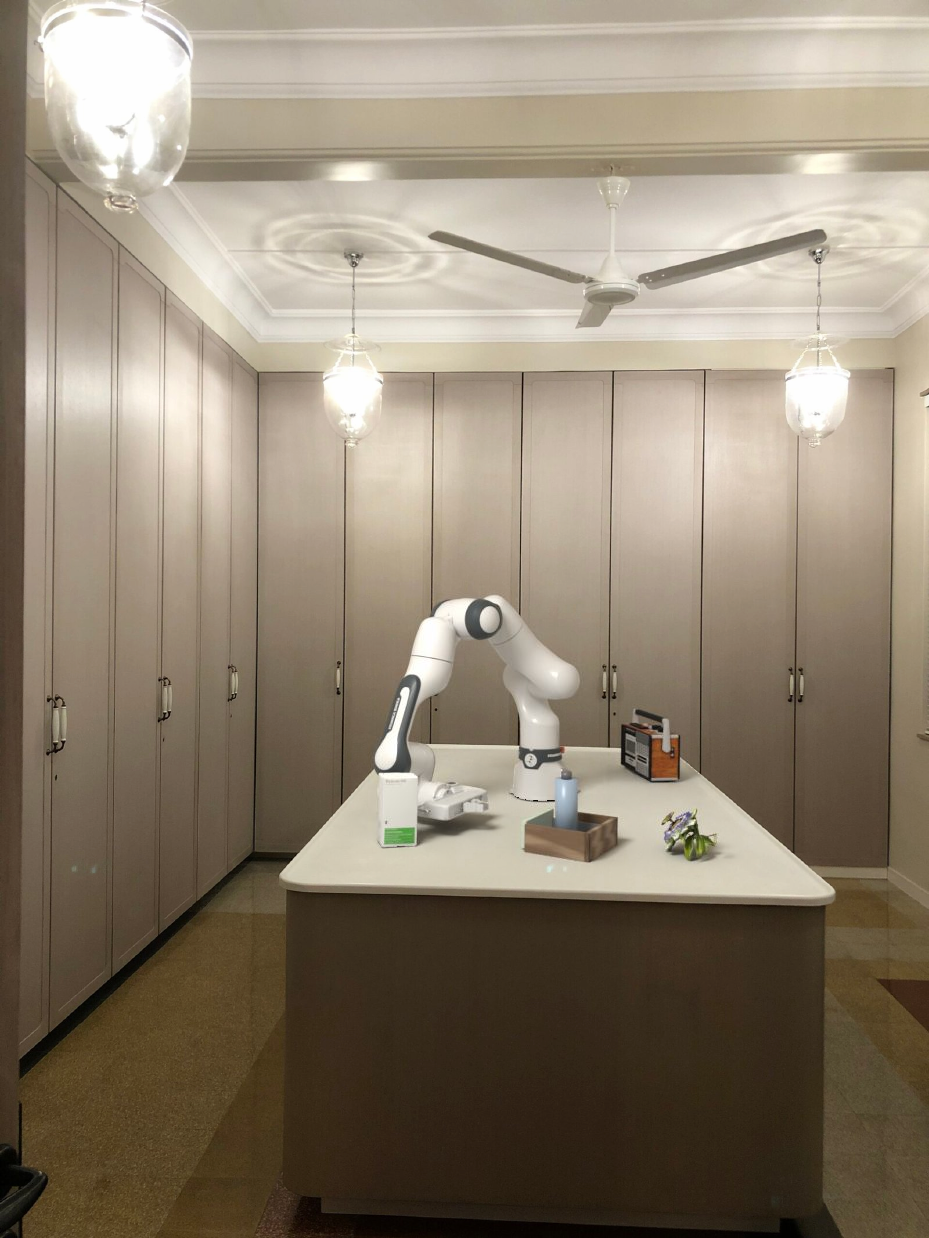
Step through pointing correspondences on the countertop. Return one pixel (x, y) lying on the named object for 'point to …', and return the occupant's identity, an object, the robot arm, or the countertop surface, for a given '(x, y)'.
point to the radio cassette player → (650, 748)
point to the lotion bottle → (566, 801)
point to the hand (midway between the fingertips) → (485, 807)
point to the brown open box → (573, 838)
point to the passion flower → (680, 831)
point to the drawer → (550, 822)
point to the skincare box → (397, 809)
